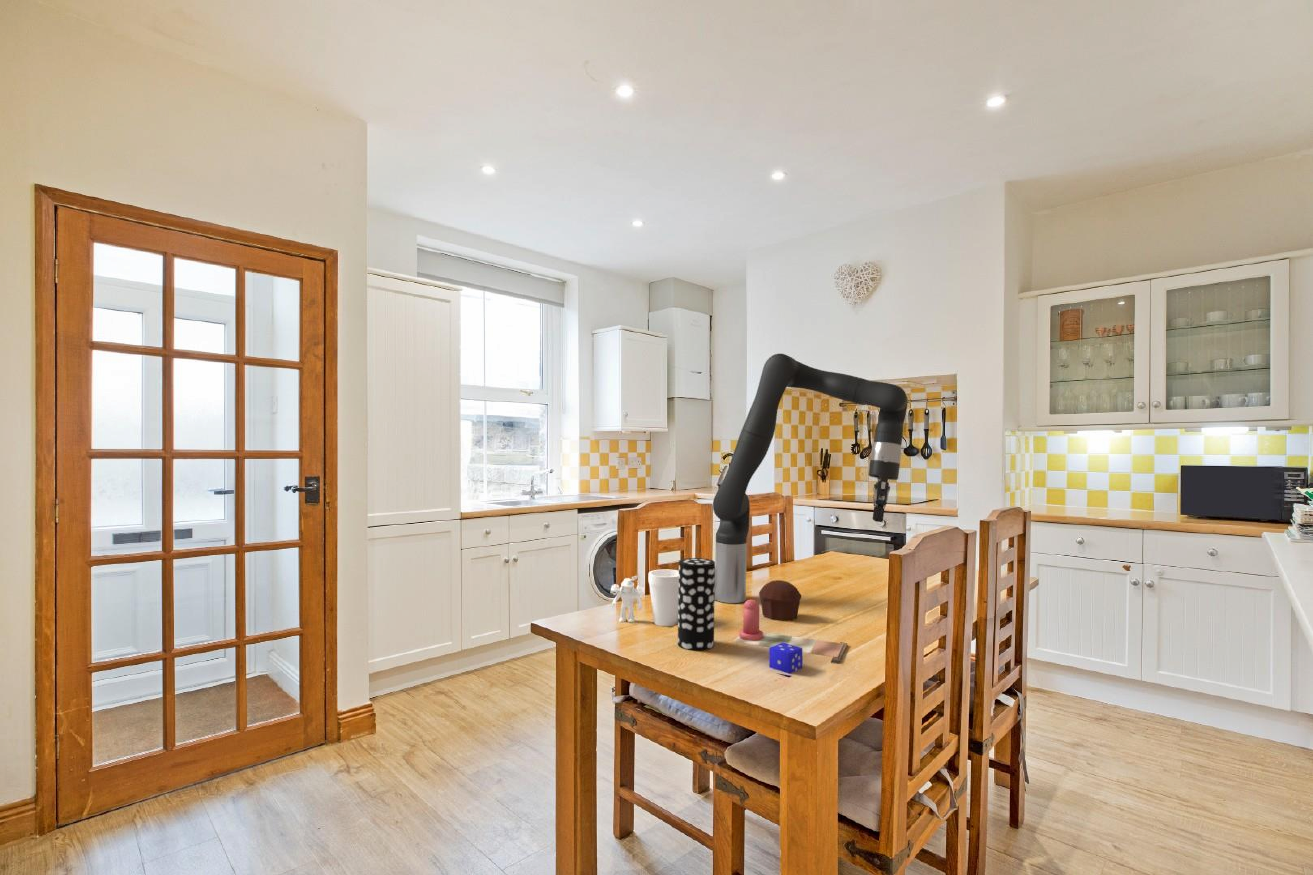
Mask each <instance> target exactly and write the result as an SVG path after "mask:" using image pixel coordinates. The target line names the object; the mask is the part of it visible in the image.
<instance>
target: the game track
mask: <svg viewBox="0 0 1313 875" xmlns="http://www.w3.org/2000/svg"><path fill="white" fill-rule="evenodd" d="M762 632H763V631H762ZM732 641H733V643H739V644H746V645H752V646H760V647H767V648H770V647H773V646H775V645H778V644H780V643H786V644H790V645H793V646H797V647H800V648H802V653H805V654H812V655H820V656H826V657H832V658H831V661H830V663H833V664H840V663H841V660H842V658H843V657H844V653H845V651H846V649H847V647H848V642H842V641H841V642H833V641H825V640H819V639H814V638H813V639H812V638H805V637H800V636H799V637H798V636H792V635H785V634H779V633H770V632H763V639H762V640H758V641H748V640H743V639H741V638H740V637H739V635H738V636H737V637H736V638H735V639H734V640H732Z"/></svg>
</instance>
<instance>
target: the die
mask: <svg viewBox="0 0 1313 875" xmlns="http://www.w3.org/2000/svg"><path fill="white" fill-rule="evenodd" d="M768 648H769V651H768V652H769V653H768V654H769V660H768V661H769V663H768V666H769V668H771V669H772V670H776V671H778V672H779V671H780V672H783V673H777V672H776V675H777V674H778V675H779V676H783V677H786V678H791V677H792V675H790V674H792V673H794V672H796V671H799V670H801V669H803V652H802V648H800V647H797V646H793V645H790V644H788V643H787V644H786V643H780V644H778V645H775V646H773V647H768ZM784 673H785V674H784ZM788 674H789V675H788Z"/></svg>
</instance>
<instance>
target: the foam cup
mask: <svg viewBox="0 0 1313 875" xmlns="http://www.w3.org/2000/svg"><path fill="white" fill-rule="evenodd" d="M648 584H649V592H650V600H651V610H652V617H653V619H652V620H653V624H654V625H656V626H660V627H673V626H677V625H678V592H679V569H678V570H677V569H668V568H667V569H664V568H663V569H655V570H650V571H649V572H648Z"/></svg>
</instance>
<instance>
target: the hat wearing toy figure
mask: <svg viewBox="0 0 1313 875" xmlns="http://www.w3.org/2000/svg"><path fill="white" fill-rule="evenodd" d="M639 576H640V575H639V574H637V575H634V576H631V578H629V577H626V578H624V580H622V582H621V583H620V584H621V586H619V584H617V583H615V584H614V583H613V584H612V585H611V588H610V594H612V595H614V596H615V595H616V596H615V597H614V599H613V601H612V603H611V607H612V608H614V607H615V605H617V604H618V600H620V598H621V604H620V616H619V620H618V622H620V623H625V622H626V621H627V622H628V623H634V622H635V615H634V614H635V612H634V602H635V601H636V603H635V607H638V608H637V609H638V611H639V610H642V607H643V605H642V600H641V598H640V596H641V595H642V596H644V595H645V588H644V587H643V586H641V585H639V584H638V585H636V587H635V583H634V581H635V580H638V578H639ZM626 611H627V612H628V613H627V612H626ZM626 614H628V620H627V615H626Z"/></svg>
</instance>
